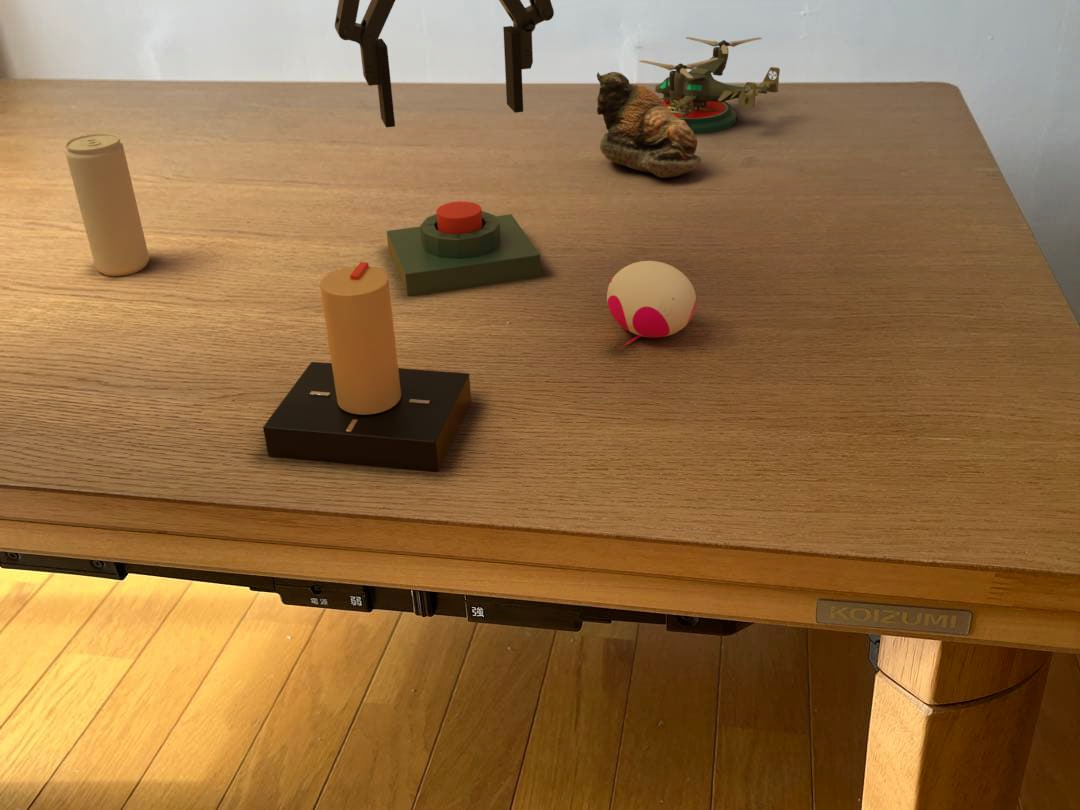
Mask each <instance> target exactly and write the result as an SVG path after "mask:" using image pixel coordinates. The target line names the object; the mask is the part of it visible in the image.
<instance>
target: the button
mask: <svg viewBox="0 0 1080 810" xmlns="http://www.w3.org/2000/svg"><path fill="white" fill-rule="evenodd" d="M482 211H483V210H482V206H481V205H479V204H478V203H475V202H472V201H461V200H459V201H451V202H447V203H444V204H442V205H439V207H437V208H436V214H437V224H438V230H439V231H441V232H443V233H447V234H465V233H472V232H475V231H477V230H479V229H482Z"/></svg>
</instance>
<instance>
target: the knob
mask: <svg viewBox="0 0 1080 810" xmlns="http://www.w3.org/2000/svg"><path fill="white" fill-rule="evenodd" d="M319 287H320V295H321V300H322V308H323V314H324V321H325V327H326V335H327V341H328V347H329V354H330V355H329V356H330V363H332V369H333V376H334V383H335V390H336V397H337V403H338V405H339V407H340V408H341V409H343V410H344V411H346V412H348V413H352V414H357V415H370V414H377V413H381V412H384V411H386V410H389V409H391V408H392V407H394V406H395V405H396V404H397V403H398V402H399V401H400V398H401V388H400V379H399V370H398V368H399V363H398V353H397V345H396V336H395V335H396V334H395V326H394V325H395V324H394V318H393V309H392V307H393V306H392V299H391V289H390V282H389V276H388V274H387V272H385V271H384V270H382V269H380V268H377V267H372V266H370V265H369V262H366V261H365V262H363V261H360V262H359V263H358V264H357V266H348V267H343V268H339V269H336V270H334V271H331V272H329V273H328V274H326V275H324V276H323V277H322V279H321V280H320V283H319Z"/></svg>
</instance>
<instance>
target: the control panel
mask: <svg viewBox="0 0 1080 810" xmlns="http://www.w3.org/2000/svg"><path fill="white" fill-rule="evenodd" d="M398 370H399V379H400V388H401V398H400V401H399V402H398V403H397V404H396V405H395V406H394V407H392V408H391V409H389V410H386V411H384V412H381V413H377V414H370V415H357V414H352V413H348V412H346V411H344V410H343V409H341V408H340V407H339V405H338V403H337V397H336V390H335V383H334V376H333V369H332V363H331V362H322V361H321V362H320V361H311V362H310V363H309V364H308V366H307V367H306V369H305V370H304V371H303V373H301V375H300V376H299V378H298V379H297V381H296V382H295V383H294V385H293V386H292V387H291V389H290V390H289V391H288V393H287V394H286V395H285V397H284V398H283V400H282V401H281V402H280V403H279V405H278V406H277V408H276V409H275V410H274V412H272V414H271V415H270V417H269V418H268V420H267V421H266V422H265V424H264V425H263V427H262V430H263V435H264V440H265V446H266V452H267V457H269V458H274V459H275V458H277V459H287V460H297V461H307V462H320V463H330V464H342V465H353V466H364V467H373V468H386V469H397V470H408V471H419V472H429V473H439V472H440V469H441V468H442V466H443V464H444V461H445V459H446V457H447V455H448V453H449V451H450V448H451V447H452V444H453V442H454V440H455V437H456V436H457V434H458V432H459V429H460V428H461V426H462V423H463V421H464V419H465V417H466V414H467V412H468V411H469V408H470V406H471V404H472V392H471V391H472V390H471V379H470V373H468V372H455V371H443V370H430V369H429V370H427V369H417V368H416V369H415V368H402V367H398Z"/></svg>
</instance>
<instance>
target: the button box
mask: <svg viewBox="0 0 1080 810" xmlns="http://www.w3.org/2000/svg"><path fill="white" fill-rule="evenodd" d="M386 238H387V247H388V253H389V256H390V259H391V261H392V263H393V265H394V268H395V270H396V272H397V276H398V277H399V280H400V282H401V284H402V287H403V289H404V292H405V294H406V296H407V297H413V296H421V295H427V294H434V293H435V294H436V293H440V292H442V293H443V292H447V291H453V290H460V289H466V288H468V289H469V288H475V287H481V286H488V285H494V284H502V283H509V282H515V281H522V280H528V279H534V278H541V277H542V270H541V269H542V268H541V267H542V266H541V265H542V264H541V254H540V252H539V251H538V250H537V248H536V247H535V245H534V244H533V242H532V241H531V240H530V238H529V237H528V235H527V234H526V232H525V231H524V230H523V229H522V227H521V225H520V224H519V223H518V220H516V218H515V217H514V216H513V214H512V213H510V214H509V213H508V214H502V215H495V214H492V213H490V212H486V211H485V210H482V229H479V230H477V231H475V232H472V233H465V234H447V233H443V232H441V231H439V230H438V224H437V213H435V214H433V215H430V216H427V217H425V219H424V220H423V221H422V223H421V224H420V225H419V226H413V227H405V228H399V229H391V230H386Z"/></svg>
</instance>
